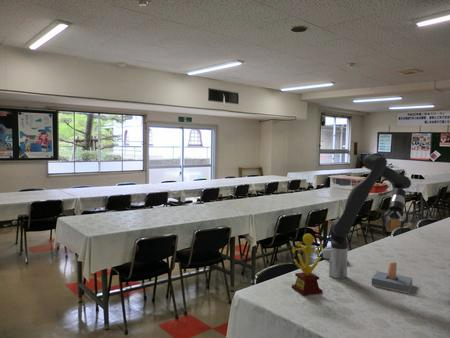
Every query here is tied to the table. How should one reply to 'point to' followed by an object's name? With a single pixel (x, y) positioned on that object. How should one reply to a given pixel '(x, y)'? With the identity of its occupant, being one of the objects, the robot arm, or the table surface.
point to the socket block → (392, 282)
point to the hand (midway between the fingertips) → (392, 226)
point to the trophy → (307, 269)
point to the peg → (392, 270)
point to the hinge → (327, 253)
